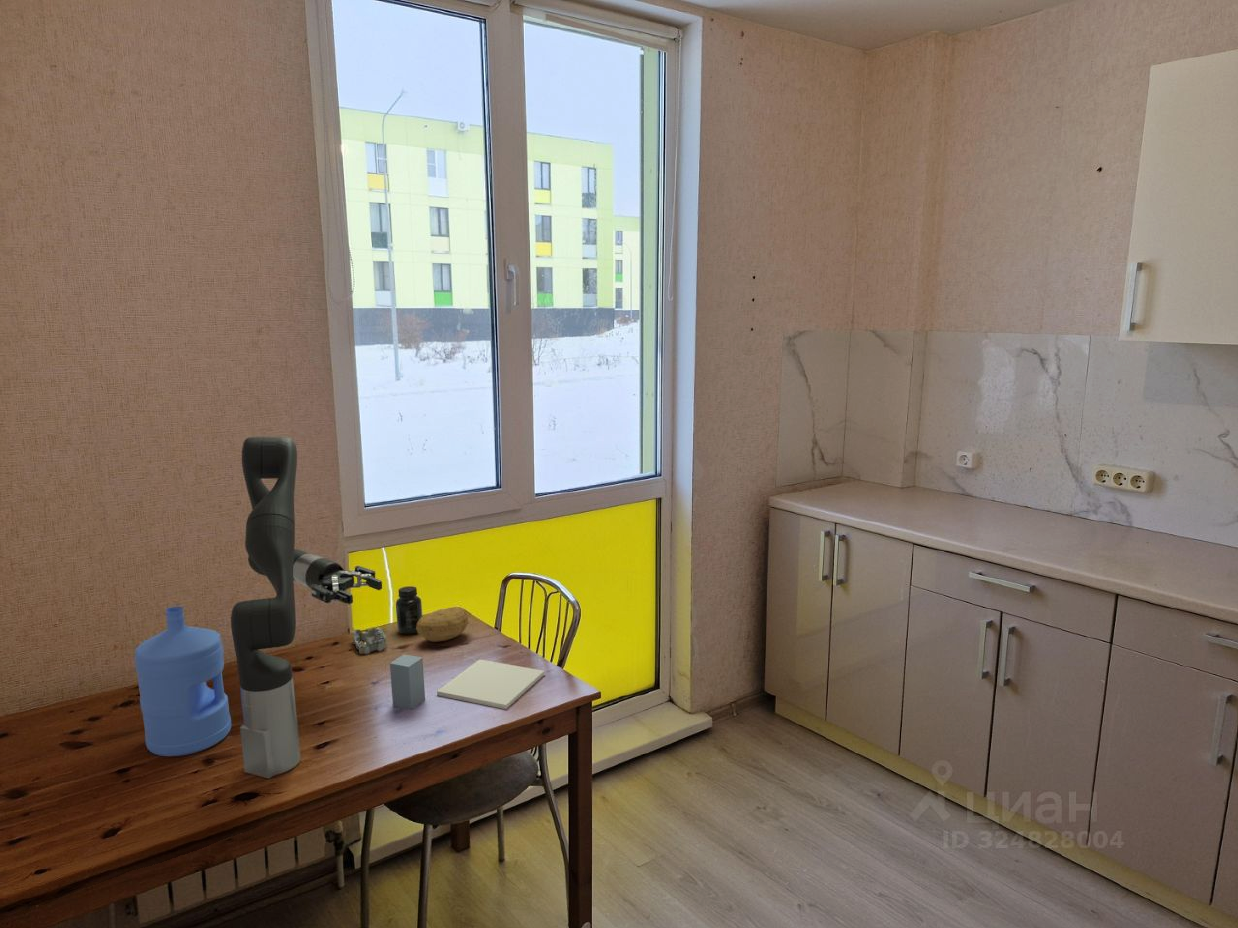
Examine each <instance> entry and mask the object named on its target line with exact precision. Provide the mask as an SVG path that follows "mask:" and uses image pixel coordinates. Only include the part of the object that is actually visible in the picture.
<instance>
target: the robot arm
mask: <svg viewBox="0 0 1238 928" xmlns="http://www.w3.org/2000/svg"><path fill="white" fill-rule="evenodd" d="M241 447H242V448H241V467H242V472H243V477H244V482H245V486H246V490H247V493H248V499H249V502H250V506H251V509H252V510H251V512H250V513H249V515H248V517H247V519H246V523H245V539H244V540H245V541H244V545H245V546H244V547H245V551H246V553H247V555H248V557H247V562H248V564H249V567H250V568H251V569H252V571H254V572H255V573H256V574H259V575H261V576H264V577H266V578H267V579H268V581H269V582H270V584H271V585H272V587H273V589H274V591H275V593H276V596H275V597H270V598H260V599H258V598H257V599H252V600H251V599H250V600H243V601H242V600H241V601H238V602H237V603H235V604H234V605H233V606H232V610H231V613H230V614H231V615H230V626H231V627H230V629H231V634H232V639H233V640H232V641H233V646H234V651H235V658H236V663H237V665H236V666H237V672H238V680H239V689H240V690H239V692H240V700H241V706H242V707H241V709H242V717H243V724H241V725H240V727H239V731H240V740H241V749H242V750H241V752H242V758H243V766H244V767H243V768H244V773H247V774H251V775H253V776H258V777H261V778H265V779H270V778H272V777H274V776H278V775H280V774H283V773H286V772H288V771H289V770H292V769H293V768H295V767H296V766H297V765H298V764H299V763H300V761H301V751H300V739H299V730H298V729H299V728H298V718H297V716H298V715H297V709H296V698H295V697H296V695H295V685H294V679H293V678H294V677H293V667H292V664H291V663H290V661H289V660H288V659H285V658H284V657H280V656H275V655H271V654H267V653H265V652H263V651H260V650H265V649H274V648H281V647H285V646H289V645H290V644H292V642H293V641H294V639H295V636H296V631H297V630H296V628H297V627H296V626H297V624H296V622H297V621H296V620H297V617H296V601H295V600H296V598H295V586H294V585H295V584H294V582H297V583H299V584H300V585H302V586H304V587H306V588H309V589H310V591H311V597H313V598H315V599H317V600H319V601H321V602H323V603H326V604H330V603H331V602H332V601H334V602H338V601H339V602H341V603H344V604H348V605H351V604H353V603H354V596H353V594H352V593H349V592H347V591H346V590H348V589H352V588H353V589H354V588H355V589H356V588H358V589H359V588H361V587H367V586H368V587H369V588H372V589H374V590H376V591H381V590H382V589H383V582H382V580H381V579H379V578H376V570H373V569H369V568H367V567H364V566H361V565H356V566H354V570H352V571H351V570H347V569H346V570H345V569H344V567H342V566H341V564H339V563H338V562H335V561H333V560H330V559H328V558H325V557H323V556H320V555H317V554H311V553H310V552H306V551H303V550H301V549H298V548H295V540H296V522H295V519H296V518H295V517H296V515H295V491H296V489H295V488H296V478H297V476H296V475H297V468H298V467H297V464H298V450H297V444H296V443H295V441H294V440H293V439H292V438H291V437H286V436H250V437H247V438H245V440H244V441H243V444H242V446H241ZM263 479H264V480H265V479H267V480H268V479H270V480H271V479H273V480H275V479H276V482H275V483H274V486H273V487H272V488H271V489H269V488H268V487H267V486H266V485H265V483H264V482H263V481H262V480H263ZM355 578H356V582H355ZM362 580H364V581H362Z"/></svg>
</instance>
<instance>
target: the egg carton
mask: <svg viewBox="0 0 1238 928" xmlns="http://www.w3.org/2000/svg"><path fill="white" fill-rule="evenodd" d="M351 630H352V633H353V635H352V641H353V644H354V645H355V648H356V649H358V653H359V654H364V653H365V654H364V655H368V654H370V653H371V652H373V651H374V650H378V651H377V652H382V650H383V651H384V649H386V648H387V641H386V638H387V636H386V635H385V632H384V631H383V628H382V627H380V626H379V627H377V628H375V627H374V628H373V627H372V628H371V629H368V628H366V629H365V631H363V632H362V631H361V629H360V628H358V629H355V628H354V627H353V628H351ZM362 640H365V642H363V641H362ZM374 652H375V651H374Z"/></svg>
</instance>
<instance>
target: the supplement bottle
mask: <svg viewBox="0 0 1238 928" xmlns="http://www.w3.org/2000/svg"><path fill="white" fill-rule="evenodd" d="M397 591H398V598H397V600H396V601H395V611H396V612H395V613H396V615H395V616H396V624H397V625H396V626H397V632H398V633H399V634H400V635H403V636H409V635H410V636H411V635H416V634H418V632H417V629H416V625H417V622H418V621H419V620H420V618H421V617H422V616H423V607H422V598H420V597H419V596H418V591H417V587H416V586H413V585H412V586H411V585H410V586H403V587H401V588H398V590H397Z"/></svg>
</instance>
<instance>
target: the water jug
mask: <svg viewBox="0 0 1238 928" xmlns="http://www.w3.org/2000/svg"><path fill="white" fill-rule="evenodd" d="M164 613H165V614H166V618H165V620H166V624H167V627H166V628H167V629H165V630H163V631H161V632H160V633H158V634H156V635H154V636H152V637H150V638H148V639H146V640H145V641H143V642H141V643H140V644H139V645H138V646H137V647H136V649H135V651H134V665H135V671H136V674H137V681H138V689H139V695H140V697H139V702H140V709H141V713H142V719H143V725H144V727H143V728H144V733H145V735H144V740H145V745H146V748H147V750H149V752H151V753H152V754H154V755H157V756H161V757H181V756H187V755H191V754H195V753H199V752H202V751H204V750H206V749H208V748H211V747H213V746H214V745H216V744H218V743H220V742H221V741H222V740H224V739H225V738H227V736H228V735H229V733H230V732H231V729H232V718H231V717H232V716H231V715H230V706H229V696H228V694H226V693H225V690H224V689H225V688H224V681H223V673H222V672H223V670H224V667H225V663H224V648H223V643H222V638H221V635H220V633H219V632H218V631H216V630H214V629H210V628H204V627H196V626H190V625H189V626H187V625H186V624H185V623H186V622H185V615H184V607H183V606H172V607H168V608H167V609H165V611H164ZM210 680H212V684H213V688H210V687H209V686H208V685H207V682H209V681H210Z"/></svg>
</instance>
